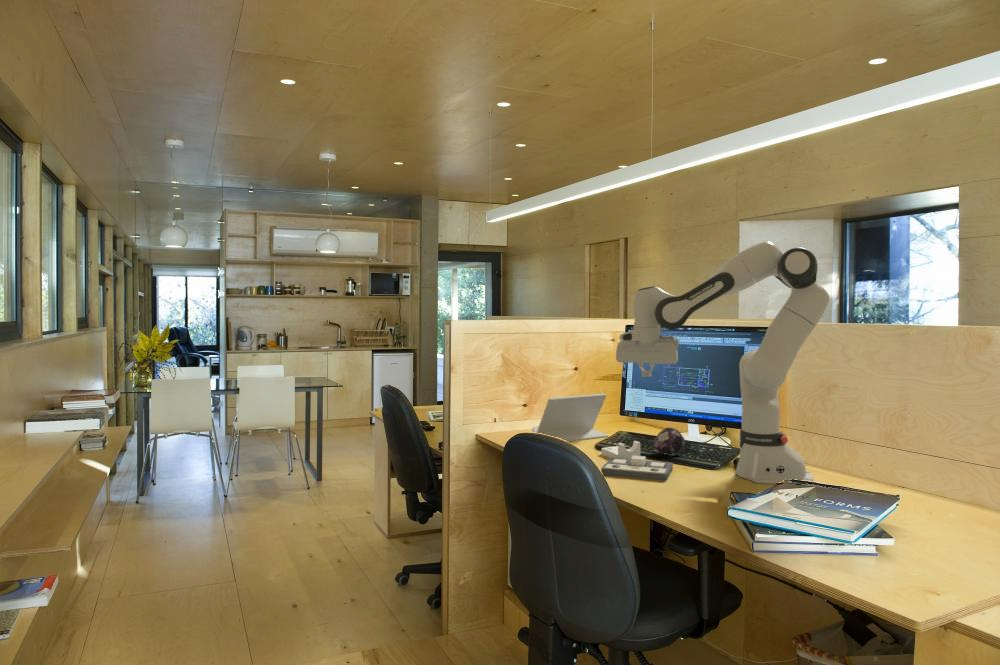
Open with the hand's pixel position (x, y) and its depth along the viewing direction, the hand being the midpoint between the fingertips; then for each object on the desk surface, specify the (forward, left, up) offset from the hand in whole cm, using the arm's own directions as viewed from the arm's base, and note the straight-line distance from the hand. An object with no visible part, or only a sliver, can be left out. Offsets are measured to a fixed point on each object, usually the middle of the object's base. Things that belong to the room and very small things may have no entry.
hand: (646, 376), depth 236 cm
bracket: (+8, +1, -30) cm, 31 cm away
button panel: (0, +16, -29) cm, 33 cm away
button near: (-6, +15, -28) cm, 32 cm away
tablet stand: (+35, -30, -30) cm, 54 cm away
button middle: (0, +14, -26) cm, 30 cm away
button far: (+6, +15, -28) cm, 32 cm away
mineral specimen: (-6, -12, -29) cm, 32 cm away
